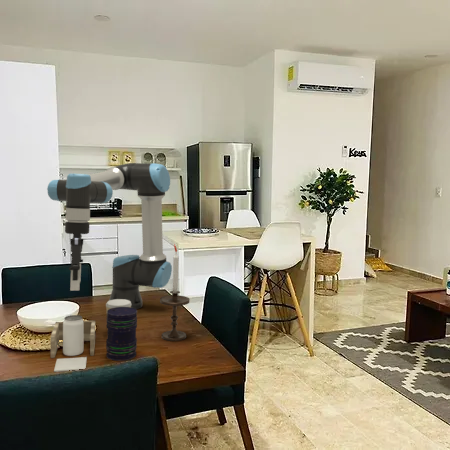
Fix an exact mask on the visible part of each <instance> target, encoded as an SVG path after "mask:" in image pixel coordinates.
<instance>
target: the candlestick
mask: <svg viewBox="0 0 450 450" xmlns="http://www.w3.org/2000/svg"><path fill="white" fill-rule="evenodd" d="M173 245H174V253H175V254H174V255H173V257H172V258H173V260H172V261H173V262H172V263H173V264H172V290H171V291H169V293H170V294H171V295H170V294H169V295H164V296H162V297H160V299H159V303H160V304H161V305H164V306H169V307H172V315H171V316H170V319H171V321H172V322H171V323H170V325H171V327H172V328H171V330H166V331H164V332H162V333H161V339H163V340H165V341H166V342H167V341H168V342H180V341H184V340H185V339H186V338H187V333H186V332H184V331H182V330H177V326H178V325H179V324H178V322H177V320H178V319H179V316H178V315H177V307H179V306H180V307H181V306H185V305H188V304H190V301H191V300H190V298H189V297H188V296H185V295H179V294H181V291H179V290H178V289H179V257H180V256H179V255H178V248H177V246H176V244H175V243H174V244H173Z"/></svg>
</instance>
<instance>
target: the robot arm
mask: <svg viewBox="0 0 450 450" xmlns="http://www.w3.org/2000/svg"><path fill="white" fill-rule="evenodd" d="M170 185H171V177H170V172H169V169H167V167H166V166H165V165H164V164H161V163H156V162H155V163H153V162H152V163H147V162H145V163H144V162H143V163H139V162H138V163H137V162H130V163H124V164H120V165H116V166H111V167H108V168H107V169H105V171H100V172H95V173H90V174H86V173H68V174H67V176H66V179H59V178H58V179H52V180H51V181H50V182H49V183H48V185H47V188H46V190H47V195H48V197H49V198H50V200H53V201H56V202H57V201H58V202H65V210H64V211H63V214H65V220H66V221H65V222H64V223H65V225H64V232H65V233H66V234H69V235H72V236H73V237H72V238H70V243H69V244H70V252H71V262H70V266H68V271H70V285H69V286H70V288H69V289H70V290H69V291H70V292H71V291H80V284H81V282H82V281H81V277H82V275H81V274H82V263H84V259H82V251H83V245H84V238H82V237H83V235H87V234H90V222H89V221H90V219H91V204H106V203H109V202H110V200H111V199H112V198H113V194H114V193H113V191H118V190H128V191H137V192H136V193H137V197H138V198H140V200H141V202H140V203H141V204H140V205H141V229H142V230H141V232H142V233H141V234H142V236H141V237H142V254H141V255H138V254H129V255H120V256H117V257H115V258H114V259H113V260H112V290H111V293H110V296H109V299H108V301H110V300H114V299H125V300H129V301H130V302H131V304H132V305H131V308H135V309H136V310H138V309H140V308H142V307H143V299H142V295H141V292H140V286H142V287H149V288H154V289H155V288H156V289H157V288H161V289H162V288H164V287H165V286H167V284H168V283H169V281H170V279H171V276H172V273H173V265H172V264H171V262H169V261H167V255H165V253H164V249H163V248H164V247H163V246H164V245H163V243H164V242H163V207H162V206H163V205H162V201H163V200H162V199H163V198H164V197H165V196H166V192H168V191H169V190H170Z"/></svg>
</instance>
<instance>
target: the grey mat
mask: <svg viewBox="0 0 450 450" xmlns="http://www.w3.org/2000/svg"><path fill="white" fill-rule="evenodd" d="M87 358H88V356H81V357H67V358H56V362H55V366H54V370H53V372H54V373H58V372H71V371H72V370H75V371H80V370H79V369H85V368H86V369H87V367H86V366H87V361H88V360H87ZM69 370H70V371H69Z"/></svg>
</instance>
